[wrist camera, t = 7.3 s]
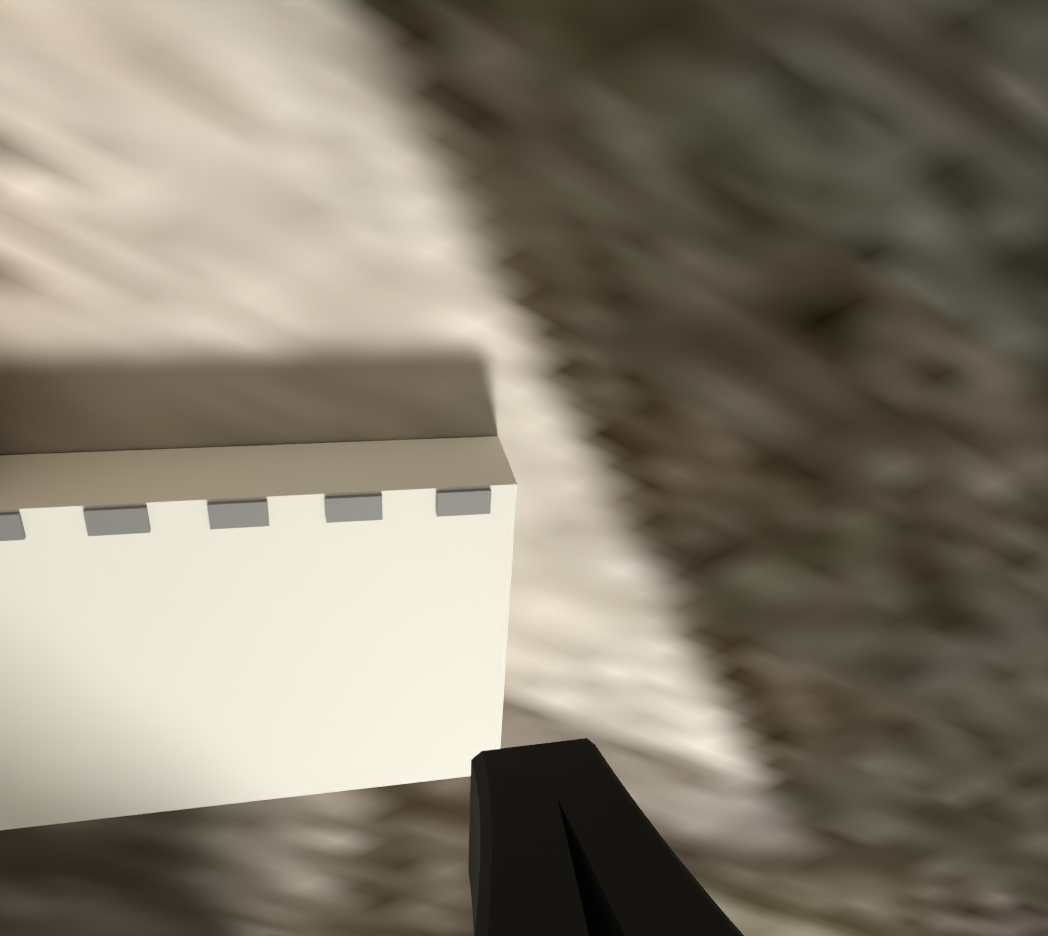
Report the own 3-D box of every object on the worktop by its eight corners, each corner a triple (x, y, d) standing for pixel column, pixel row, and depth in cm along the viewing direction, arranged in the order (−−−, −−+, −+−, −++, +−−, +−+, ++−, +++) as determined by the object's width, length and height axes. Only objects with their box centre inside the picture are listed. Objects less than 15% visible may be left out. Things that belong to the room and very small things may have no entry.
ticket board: (484, 710, 22) (499, 776, 20) (-165, 775, 19) (-214, 859, 18) (498, 436, 19) (518, 486, 17) (-295, 466, 16) (-373, 532, 14)
